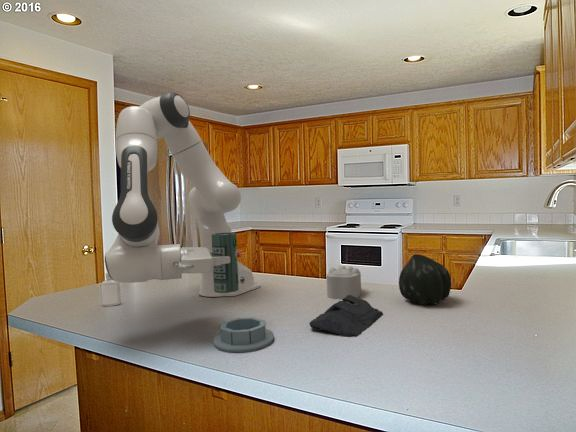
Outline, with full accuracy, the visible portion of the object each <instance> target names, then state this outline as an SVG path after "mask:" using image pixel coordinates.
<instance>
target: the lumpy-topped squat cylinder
mask: <svg viewBox="0 0 576 432" xmlns="http://www.w3.org/2000/svg"><path fill="white" fill-rule="evenodd" d="M361 274H362V273H361V271H360V270H359V268H357V267H353V266H348V267H347V268H346V267H345V266H343V265H341V266H339V268H338V269H337V268H335V267H331V268H330V269H329V272H328V273H327V274H326V293H327V298H329V299H331V300H332V299H333V300H337V299H339V300H342V299H344V298H345V297H346V296H347V295H352V296H354V297H356V298H359V297H360V296H361V295H362V282H361V281H362V280H361V277H362V275H361Z"/></svg>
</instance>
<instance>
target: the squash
mask: <svg viewBox="0 0 576 432" xmlns="http://www.w3.org/2000/svg"><path fill="white" fill-rule="evenodd" d="M412 254H413V253H412ZM398 278H399V279H398V288H399V291H400V294H401V297H403V298H404V299H406V300H407V301H409V302H410V303H413V304H421V305H424V306H425V305H428V304H431V305H437V304H439V303H440V302H441V301H443V300H446V299H447V298H448V297H449V296H450V293H451V287H452V278H451V274H450V272H449V270H448V269H447V268H446V267H445V265H443V264H441V263H439V262H438V261H436V260H435V259H432V258H430V257H428V256H426V255H422V254H418V253H414V254H413V255H411V257H410V258H409V260H408V261H407V263H406V264H405V265H404V266H403V268H402V270H401V272H400V275H399V277H398Z"/></svg>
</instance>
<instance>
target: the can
mask: <svg viewBox="0 0 576 432" xmlns="http://www.w3.org/2000/svg"><path fill="white" fill-rule="evenodd" d="M237 242H238V241H237V232H232V233H215V234H212V255H213V257H222V256H229V257H230V263H227V264H221V265H218V266H213V268H214V270H213V277H214V292H217V293H230V292H235V291H237V290H239V289H238V265H237V261H238V257H237V252H238V248H237V247H238V243H237Z"/></svg>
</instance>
